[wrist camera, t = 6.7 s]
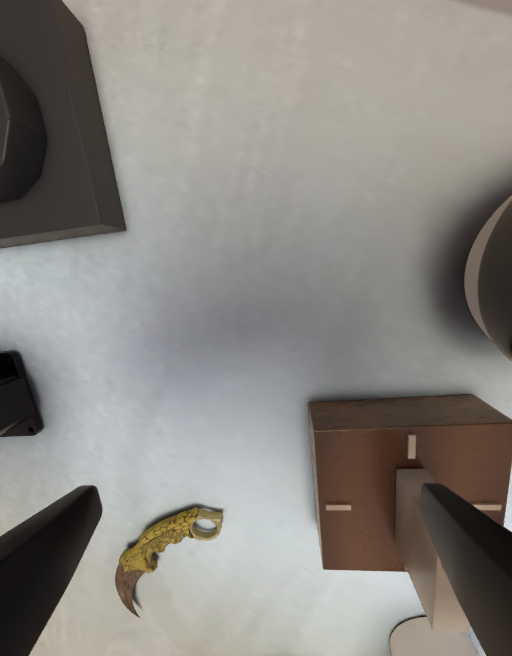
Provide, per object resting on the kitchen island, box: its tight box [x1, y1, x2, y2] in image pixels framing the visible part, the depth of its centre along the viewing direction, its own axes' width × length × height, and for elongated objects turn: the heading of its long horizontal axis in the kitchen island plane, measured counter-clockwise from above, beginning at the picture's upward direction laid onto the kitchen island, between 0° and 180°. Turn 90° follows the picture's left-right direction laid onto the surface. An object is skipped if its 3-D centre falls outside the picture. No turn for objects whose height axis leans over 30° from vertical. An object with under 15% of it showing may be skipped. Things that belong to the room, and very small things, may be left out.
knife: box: [115, 508, 223, 618], centre depth 20 cm, size 14×1×5 cm
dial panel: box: [308, 394, 512, 572], centre depth 16 cm, size 10×10×3 cm
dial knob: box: [395, 469, 470, 632], centre depth 12 cm, size 5×2×4 cm, turn 6°
